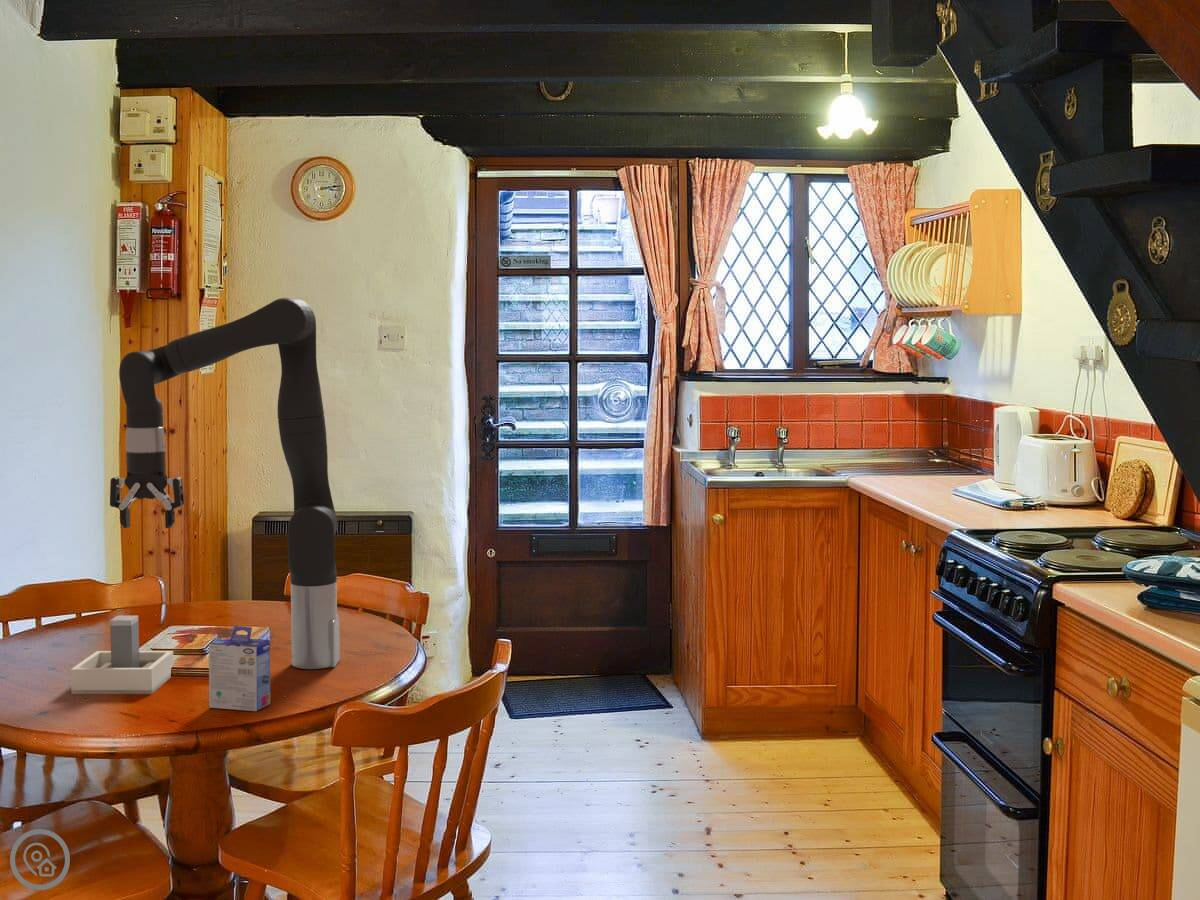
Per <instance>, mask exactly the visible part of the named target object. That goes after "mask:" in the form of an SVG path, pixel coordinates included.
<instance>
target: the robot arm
mask: <svg viewBox="0 0 1200 900" xmlns="http://www.w3.org/2000/svg"><path fill="white" fill-rule="evenodd" d="M271 345H277V346H278V351H279V352H278V353H279V356H280V357H279V358H280V366H281V368H280V369H281V371H280V373H281V376H280V384H279V388H278V389H279V390H278V398H277V424H278V430H279V431H278V432H279V440H280V443H281V447H282V452H283V455H284V459H285V461H286V465H287V467H288V470H289V473H290V478H291V482H292V491H293V515H291V517H290V519H289V522H288V525H287V553H288V554H287V555H288V556H287V557H288V570H289V576H290V615H291V616H290V618H291V619H290V620H291V621H290V622H291V629H290V630H291V632H290V633H291V665H292V666H293V667H294V668H297V669H302V670H318V669H319V670H320V669H326V668H335V667H336V666H337V664H338V663H339V661H340V660H341V656H340V654H341V652H340V651H341V649H340V648H341V647H340V641H341V640H340V637H341V636H340V615H339V614H338V599H337V597H338V594H337V593H338V589H337V588H338V581H337V574H338V573H337V572H338V570H337V567H336V559H335V558H336V557H335V556H336V555H335V553H336V552H335V549H336V548H335V535H336V533H337V530H338V519H337V515H336V510H335V506H334V502H333V501H334V500H333V497H332V493H331V487H330V482H329V474H328V471H329V470H328V467H329V466H328V461H329V459H328V441H327V428H326V427H327V426H326V421H325V420H326V419H325V417H326V416H325V409H324V404H323V398H322V390H321V383H320V377H319V371H318V364H317V320H316V316H315V313H314V310H313V308H312V307H311V305H309V303H307V302H306V301H304V300H302V299H299V298H295V297H294V298H292V297H281V298H280V297H279V298H277V299H275V300H273V301H272V302H269V303H268V304H265V305H264V306H262V307H260V308H259V309H256V310H255V311H253V312H252V313H249V314H247V315H246V316H243V317H241V318H237V319H236V320H233V321H231V322H228V323H225V324H224V323H223V324H222V325H217V326H214V327H211V328H207V329H204V330H201V331H197V332H194V333H191V334H188V335H184V336H182V337H178V338H175V339H173V340H171V341H170V342H168V343H167V345H166V344H165V345H163V346H160V347H156V348H152V349H149V350H135V351H134V350H133V351H131V352H129V353H127V354H125V355H124V356H123V358H122V359H121V362H120V364H119V370H118V372H119V373H118V374H119V375H118V376H119V383H120V388H121V391H122V397H123V400H124V402H125V407H126V408H125V409H126V410H125V413H126V415H125V416H126V417H125V419H126V430H125V431H126V433H125V461H126V463H125V464H126V466H125V467H126V477H125V478H124V477H120V476H115V477H111V479H110V485H109V486H110V487H109V490H110V491H109V505H110V507H111V508H117V509H118V510H119V524H120V526H122V528H123V529H128V528H130V527H131V509H130V508H129V507H130V506H131V505H132V503H133V502H134V501H135V500H136V499H137V500H142V499H143V500H144V499H149V500H154V499H157V500H158V501H159V503H161V504H162V506H163V507H164V508H165V511H164V519H165V520H164V521H165V523H164V525H165V527H164V528H165V529H171V528H173V526H174V525H175V522H176V516H175V515H176V514H175V512H176V511H175V510H176V509H178V508H179V507H182V506H184V505H185V496H184V485H183V478H182V477H181V476H178V477H174V478H172V477H171V478H170V477H169V478H168V476H167V465H166V463H167V462H166V449H167V444H166V436H165V430H164V409H163V404H162V401H161V400H160V399H158V397H156V389H155V385H157V384H160V383H162V382H163V383H164V382H165V381H168V380H170V379H173V378H175V377H177V376H179V375H182V374H185V373H190V372H192V371H196V370H199V369H203V368H205V367H208V366H211V365H214V364H217V363H218V362H222V361H223V360H226V359H228V358H230V357H232V356H235V355H236V354H238V353H241V352H245V351H247V350H250V349H253V348H254V349H255V348H259V347H264V346H271ZM124 485H125V486H126V487H127V488H128V490H129V491H128V492H127V494H126V495H125V497H124V498H123V500H122V501H121V488H124ZM168 485H169V486H170V488H171V489H173V500H172V499H171V497H170V495H169V494H168V492H167V491H166V490H165V489H166V487H167V486H168Z"/></svg>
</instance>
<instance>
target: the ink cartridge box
mask: <svg viewBox="0 0 1200 900" xmlns="http://www.w3.org/2000/svg"><path fill="white" fill-rule="evenodd" d="M252 629H253V627H249V626H238V625H235V626H234V627H233V630H232V633H231V637H221V638H218V639H216V640H214V641H212V642H210V643H209V644H208V686H209V688H208V692H209V693H208V694H209V695H208V698H209V699H208V700H209V701H208V702H209V704H208V708H210V709H221V710H222V709H223V710H224V709H225V710H232V711H233V710H235V711H246V712H247V711H248V712H259V710H261V709H264V708H265V707H267V706H270V705H271V698H272V697H271V696H272V695H271V650H270V649H271V640H270V639H260V638H259V639H258V638H257V639H256V638H251V634H252ZM239 631H243V632H246V633H247V634H237V632H239Z"/></svg>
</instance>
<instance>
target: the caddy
mask: <svg viewBox="0 0 1200 900" xmlns="http://www.w3.org/2000/svg"><path fill="white" fill-rule="evenodd" d="M174 661H175V659H174V650H139V662H140V668H112V666H111V650H96V651H95V652H94V653H92V654H91V655H89V656H88V657H86V658H85V659H84V660H82V661H81V662H79V663H78V664H77V665H75V666H73V667H72V668H71V669H70V683H71V684H70V685H71V695H154V694H155V692H156V691H157V690H158V689H160V688H161V687H162V686H163V685H165V683H166V682H167V681H169V680H170V679H171V678H172V677H171V668H172V666H173V665H175V664H174Z"/></svg>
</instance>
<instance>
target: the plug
mask: <svg viewBox="0 0 1200 900" xmlns="http://www.w3.org/2000/svg"><path fill="white" fill-rule="evenodd" d="M109 627H110V628H109V629H110V631H109V633H110V635H109V636H110V651H111V666H112V668H140V662H139V651H140V639H139V638H140V634H139V629H140V628H139V615H116V616H115V617H113V618H111V619H110V620H109Z"/></svg>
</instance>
